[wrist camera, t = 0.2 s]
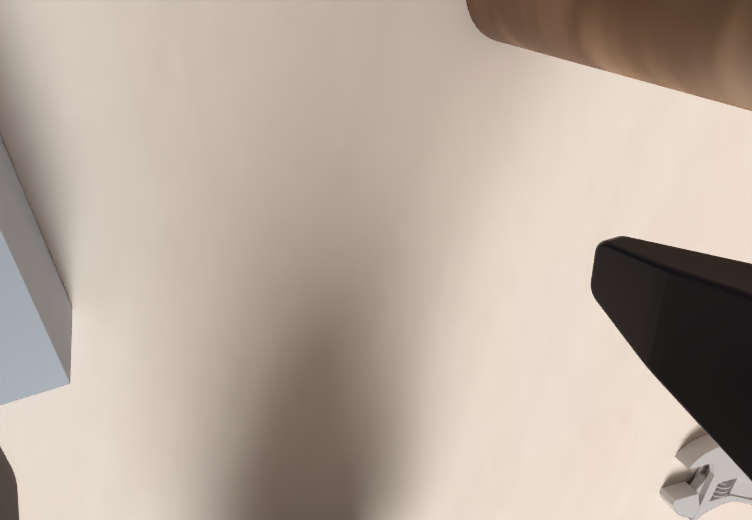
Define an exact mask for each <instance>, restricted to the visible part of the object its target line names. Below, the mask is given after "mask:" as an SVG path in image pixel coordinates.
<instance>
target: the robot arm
mask: <svg viewBox="0 0 752 520" xmlns="http://www.w3.org/2000/svg"><path fill="white" fill-rule="evenodd" d="M591 290H592V294H593V296H594V298H595V299H596V301H597V302H598V303H599V305H600V306H601V307H602V309H603V310H604V311H605V313H606V314H607V315H608V317H609V318H610V319H611V321H612V322H613V323H614V325H615V326H616V327H617V329H618V330H619V331H620V333H621V334H622V335H623V337H624V338H625V339H626V341H627V342H628V343H629V345H630V346H631V347H632V348H633V350H634V351H635V352H636V354H637V355H638V356H639V358H640V359H641V360H642V361H643V363H644V364H645V365H646V367H647V368H648V369H649V370H650V371H651V372H652V373H653V375H654V376H655V377H656V378H657V379H658V380H659V381H660V382H661V383H662V385H663V386H664V387H665V388H666V389H667V390H668V391H669V392H670V393H671V394H672V395H673V397H674V398H675V399H676V400H677V401H678V402H679V403H680V404H681V405H682V406H683V407H684V408H685V410H686V411H687V412H688V413H689V414H690V415H691V416H692V417H693V418H694V419H695V420H696V422H697V423H698V424H699V425H700V426H701V427H702V428H703V429H704V430H705V431H706V432H707V433H708V435H709V436H710V437H711V438H712V439H713V440H714V441H715V442H716V443H717V444H718V445H719V447H720V448H721V449H722V450H723V451H724V452H725V453H726V454H727V455H728V456H729V457H730V458H731V460H732V461H733V462H734V463H735V464H736V465H737V466H738V467H739V468H740V469H741V470H742V472H743V473H744V474H745V475H746V476H747V477H748V478H749V479H750V480H751V481H752V264H750V263H746V262H741V261H736V260H732V259H727V258H723V257H718V256H713V255H709V254H704V253H700V252H695V251H690V250H686V249H681V248H677V247H672V246H667V245H663V244H658V243H654V242H649V241H644V240H640V239H635V238H631V237H626V236H619V237H615V238H612V239H608V240H605V241H602V242H601V243H599V244H598V246H597V248H596V251H595V257H594V264H593V271H592V278H591ZM0 520H19V508H18V492H17V483H16V478H15V474H14V472H13V469H12V467H11V465H10V464H9V462H8V460H7V458H6V456H5V454H4V452H3V451H2V449H1V447H0Z"/></svg>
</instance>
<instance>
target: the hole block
mask: <svg viewBox="0 0 752 520" xmlns="http://www.w3.org/2000/svg"><path fill="white" fill-rule="evenodd" d="M71 336H72V306H71V303H70V301H69V298H68V296H67V294H66V291H65V289H64V286H63V284H62V282H61V279H60V277H59V274H58V272H57V270H56V267H55V265H54V263H53V260H52V258H51V255H50V253H49V251H48V248H47V246H46V243H45V241H44V239H43V236H42V234H41V231H40V229H39V227H38V224H37V222H36V219H35V217H34V215H33V212H32V210H31V207H30V205H29V203H28V200H27V198H26V195H25V193H24V191H23V188H22V186H21V183H20V181H19V179H18V176H17V174H16V171H15V169H14V167H13V164H12V162H11V159H10V157H9V155H8V152H7V150H6V147H5V145H4V143H3V140H2V138H1V136H0V405H3V404H6V403H9V402H12V401H16V400H19V399H22V398H25V397H28V396H32V395H35V394H38V393H41V392H45V391H48V390H51V389H54V388H57V387H61V386H64V385H67V384H70V370H71Z"/></svg>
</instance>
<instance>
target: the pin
mask: <svg viewBox="0 0 752 520" xmlns="http://www.w3.org/2000/svg"><path fill="white" fill-rule="evenodd" d="M466 1H467V6H468V10H469V13H470V16H471V18H472V20H473V22H474V24H475V25H476V27H477V28H478V29H479V30H480V31H481V32H482V33H483V34H484V35H485V36H487V37H489V38H490V39H493V40H496V41H499V42H503V43H506V44H510V45H514V46H517V47H521V48H525V49H528V50H532V51H535V52H539V53H543V54H546V55H550V56H554V57H557V58H561V59H565V60H568V61H572V62H575V63H579V64H583V65H586V66H590V67H594V68H597V69H601V70H605V71H608V72H612V73H615V74H619V75H623V76H626V77H630V78H634V79H637V80H641V81H645V82H648V83H652V84H655V85H659V86H663V87H666V88H670V89H674V90H677V91H681V92H685V93H688V94H692V95H696V96H699V97H703V98H706V99H710V100H714V101H717V102H721V103H725V104H728V105H732V106H736V107H739V108H743V109H746V110H750V111H752V0H466Z"/></svg>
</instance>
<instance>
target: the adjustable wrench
mask: <svg viewBox="0 0 752 520" xmlns="http://www.w3.org/2000/svg"><path fill="white" fill-rule="evenodd" d="M675 457H676V458H677V459H678V460H680V461H681V462H682V463H683V464H684V465H685V466H686V467H687V468H689V469H692V468H696V467H698V469H697V471H696V474H695V476H694V478H693V480H692V482H691V483H690V484H687V483H686V482H685V481H684V482H680V483H676V484H672V485H669V486H665V487H661V490H660V492H659V493H660V496H661V498H662V499H663V500H664V501H665V502H666V503H667V504H668V505H669V506H670V507H671V508H672V509H673V510H674V511H675V512H676V513H677V514H678V515H680V516H682V517H688V518H689V519H690V520H697V519H698V518H699V517H701V516H702V515H703V514H705V513H706V512H708V511H710V510H712V509H714V508H716V507H718V506H720V505H722V504H725V503H728V502H742V503H746V504H751V505H752V481H751V480H750V479H749V478H748V477H747V476H746V475H745V474H744V473H743V472H742V470H741V469H740V468H739V467H738V466H737V465H736V464H735V463H734V462H733V461H732V460H731V458H730V457H729V456H728V455H727V454H726V453H725V452H724V451H723V450H722V449H721V448H720V447H719V445H718V444H717V443H716V442H715V441H714V440H713V439H712V438H711V437H710V436H709V435H708V434H706V435H703V436H700V437H698V438H696V439H694V440H692V441H690V442H689V443H688V444H686V445H685V446H684V447H682V448H681V449H680V450H679V451H678V452H677V454H676V455H675Z"/></svg>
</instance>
